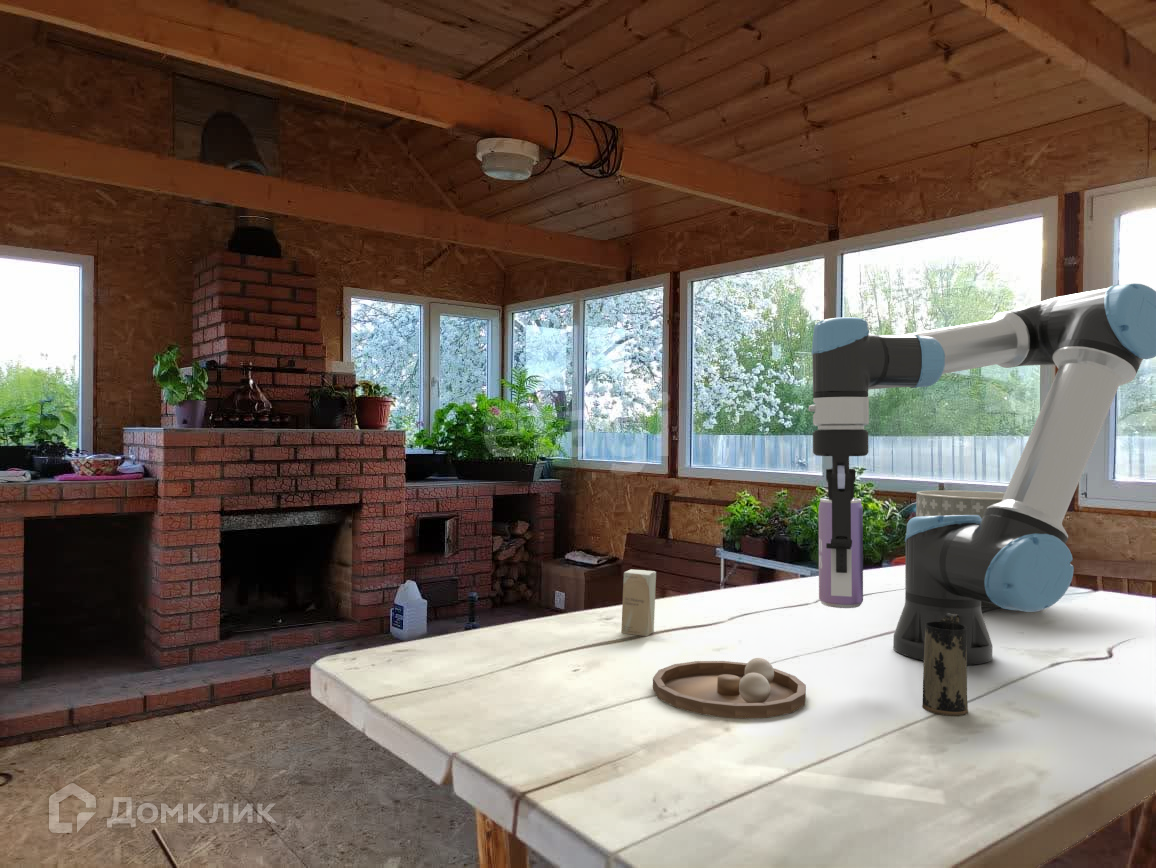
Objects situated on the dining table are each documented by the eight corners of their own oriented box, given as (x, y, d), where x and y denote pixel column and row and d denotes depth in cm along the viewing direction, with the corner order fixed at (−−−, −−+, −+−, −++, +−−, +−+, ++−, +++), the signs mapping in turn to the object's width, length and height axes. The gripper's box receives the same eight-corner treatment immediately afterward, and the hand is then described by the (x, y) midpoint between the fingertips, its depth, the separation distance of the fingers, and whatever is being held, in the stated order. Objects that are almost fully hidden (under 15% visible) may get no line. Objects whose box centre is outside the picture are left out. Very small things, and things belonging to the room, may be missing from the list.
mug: (963, 719, 105) (964, 625, 105) (917, 710, 108) (918, 619, 108) (974, 703, 111) (976, 615, 111) (931, 695, 114) (932, 609, 114)
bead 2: (771, 701, 108) (771, 670, 108) (768, 710, 104) (769, 679, 104) (740, 697, 109) (740, 667, 109) (736, 707, 105) (737, 675, 105)
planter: (1066, 616, 168) (1068, 499, 169) (943, 613, 169) (945, 497, 169) (1004, 592, 194) (1006, 491, 194) (897, 590, 194) (899, 489, 194)
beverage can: (865, 609, 113) (865, 500, 113) (820, 608, 114) (820, 500, 114) (860, 600, 119) (859, 497, 119) (817, 599, 120) (816, 496, 120)
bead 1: (774, 684, 115) (775, 656, 115) (772, 693, 111) (773, 663, 111) (745, 681, 116) (746, 653, 116) (742, 690, 112) (743, 660, 112)
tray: (807, 686, 118) (807, 665, 118) (802, 734, 98) (803, 709, 98) (669, 672, 123) (669, 652, 123) (639, 715, 104) (639, 691, 104)
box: (620, 633, 147) (621, 571, 147) (628, 628, 151) (629, 568, 151) (648, 636, 145) (649, 574, 145) (655, 631, 149) (656, 570, 149)
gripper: (814, 428, 127) (814, 578, 127) (811, 428, 108) (812, 603, 109) (865, 428, 124) (866, 580, 125) (871, 427, 106) (872, 606, 106)
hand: (841, 590), depth 117 cm, fingers closed on beverage can, 6 cm apart
